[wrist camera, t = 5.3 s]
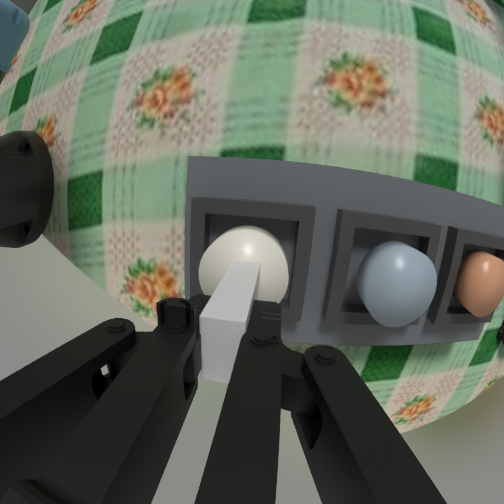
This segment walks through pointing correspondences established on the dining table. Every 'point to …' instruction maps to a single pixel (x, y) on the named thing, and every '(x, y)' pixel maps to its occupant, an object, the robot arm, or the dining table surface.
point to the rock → (501, 334)
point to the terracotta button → (480, 283)
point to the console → (341, 241)
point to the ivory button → (246, 249)
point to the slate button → (396, 283)
